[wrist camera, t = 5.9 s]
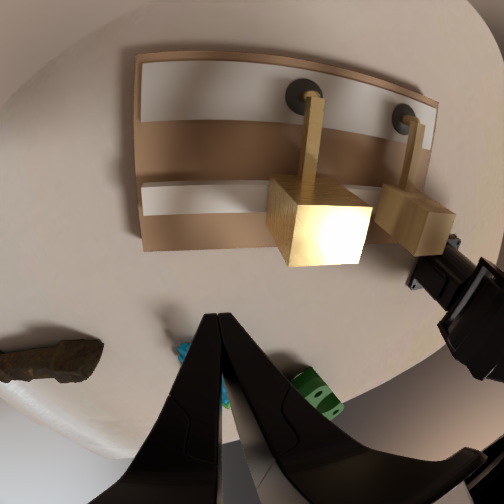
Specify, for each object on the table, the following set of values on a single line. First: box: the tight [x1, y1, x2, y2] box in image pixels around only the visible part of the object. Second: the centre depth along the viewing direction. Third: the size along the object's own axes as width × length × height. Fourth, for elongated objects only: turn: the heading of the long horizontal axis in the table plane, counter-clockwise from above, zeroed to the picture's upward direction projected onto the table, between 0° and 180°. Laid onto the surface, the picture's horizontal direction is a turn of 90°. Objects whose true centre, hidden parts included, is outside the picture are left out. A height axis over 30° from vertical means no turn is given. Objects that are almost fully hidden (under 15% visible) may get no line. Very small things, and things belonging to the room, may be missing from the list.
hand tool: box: [0, 340, 104, 383], centre depth 22 cm, size 19×4×5 cm, turn 99°
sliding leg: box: [265, 91, 373, 267], centre depth 14 cm, size 4×8×6 cm, turn 176°
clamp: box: [290, 367, 344, 420], centre depth 31 cm, size 12×6×9 cm, turn 23°
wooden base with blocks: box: [134, 51, 456, 256], centre depth 15 cm, size 22×13×8 cm, turn 86°
